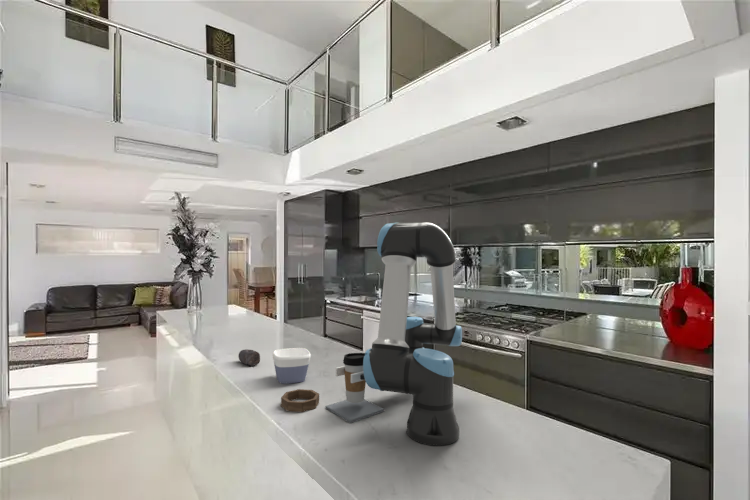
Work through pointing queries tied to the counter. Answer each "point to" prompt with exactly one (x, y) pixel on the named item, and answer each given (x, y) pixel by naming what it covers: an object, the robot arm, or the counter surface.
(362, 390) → the coffee cup
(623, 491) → the counter surface
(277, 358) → the blue white tub
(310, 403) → the cup cradle
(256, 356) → the perforated stone tool
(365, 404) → the rubber mat
